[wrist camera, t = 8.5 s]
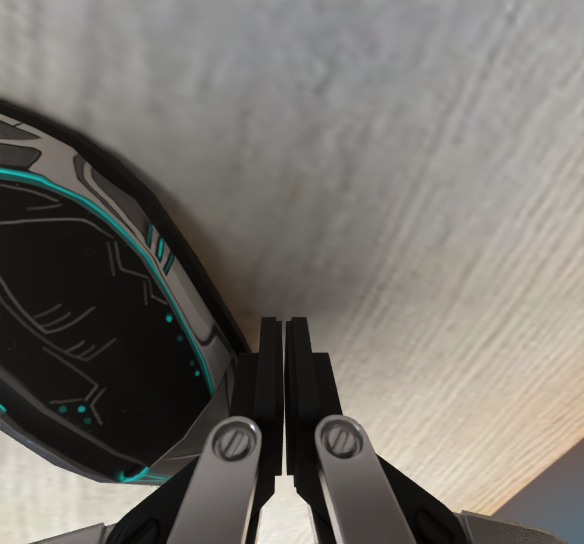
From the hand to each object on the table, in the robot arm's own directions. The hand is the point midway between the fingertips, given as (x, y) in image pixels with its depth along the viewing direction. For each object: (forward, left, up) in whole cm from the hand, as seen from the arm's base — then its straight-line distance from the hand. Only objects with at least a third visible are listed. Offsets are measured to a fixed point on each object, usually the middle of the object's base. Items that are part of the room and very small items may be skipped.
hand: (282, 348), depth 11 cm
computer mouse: (-3, -6, -2) cm, 7 cm away
